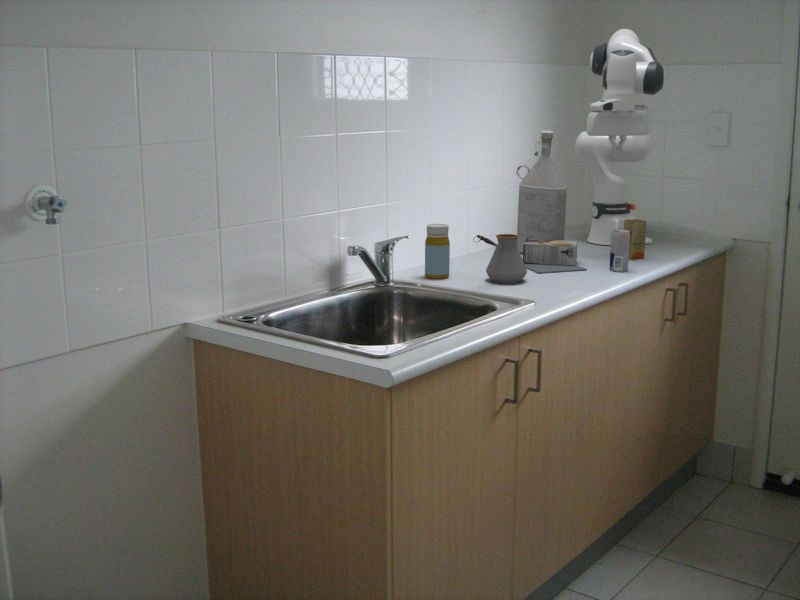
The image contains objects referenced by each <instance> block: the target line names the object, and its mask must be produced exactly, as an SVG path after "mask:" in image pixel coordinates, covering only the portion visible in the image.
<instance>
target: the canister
mask: <svg viewBox="0 0 800 600" xmlns="http://www.w3.org/2000/svg"><path fill="white" fill-rule="evenodd" d="M540 138H541V142H540V141H534V148H535V150H536V151H535V152H534V156H535V157H538V156H539V152H540V151H541V152H540V156H539V157H538V159H537V160H536V161H535V163H534V164H533V166H532V167H531V168H530V167H529V166H528V165H526V164H525V165H519V166H518V167H517V169H516V176H518V179H521V182H520V183H519V184H518V187H519V188H518V206H517V207H518V209H517V224H516V225H517V228H516V235H518V236H519V238H518V239H517V243H516V244H517V246H518V249H519V251H520V254H523V244H524V242H525V240H526V239H541V240H565V235H566V234H565V231H566V214H567V213H566V211H567V193H568V192H567V190H568V186H567V185H566V183H565V181H564V180H563V177H562V176H561V174H560V172H559V170H558V168H557V166H556V164H555V162H554V160H553V158H552V156H551V148H552V144H553V143H552V142H553V138H554V131H553V130H542V131H540ZM537 143H538V144H539V145H541V149H540V150H538V149H537ZM523 167H525V168H526V169H527V172H526V174H525V176H524V177H521V176H520V173H519V171H520V169H521V168H523Z"/></svg>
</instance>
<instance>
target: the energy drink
mask: <svg viewBox="0 0 800 600" xmlns="http://www.w3.org/2000/svg"><path fill="white" fill-rule="evenodd" d="M629 243H630V232H629V230H624V229H615V230H612V233H611V245H610V249H609V250H610V255H609V268H608V269H609V270H610V271H611V272H615V273H616V272H617V273H625V272H627V271H629V260H630V259H629Z"/></svg>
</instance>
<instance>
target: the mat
mask: <svg viewBox="0 0 800 600" xmlns="http://www.w3.org/2000/svg"><path fill="white" fill-rule="evenodd" d="M524 264H525V267H526V270H529V271H532V272H534V273H536V274H541V275H542V274H553V273H566V272H567V273H568V272H586V271H588V268H585V267H582V266H581V265H579V264H575V266H574V265H551V264H529V263H524Z"/></svg>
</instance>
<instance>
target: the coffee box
mask: <svg viewBox="0 0 800 600" xmlns="http://www.w3.org/2000/svg"><path fill="white" fill-rule="evenodd" d="M577 257H578V240H569V239H567V240H566V239H564V240H541V239H526V240H525V242H524V244H523V253H522V259H523V262H524V263H529V264H551V265H574V266H575V265H577V264H576V263H577V260H578V258H577Z"/></svg>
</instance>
